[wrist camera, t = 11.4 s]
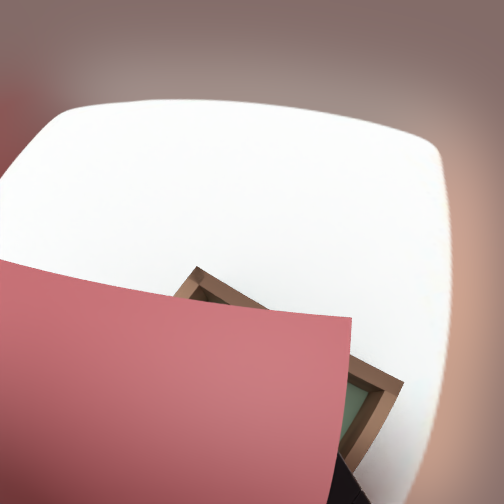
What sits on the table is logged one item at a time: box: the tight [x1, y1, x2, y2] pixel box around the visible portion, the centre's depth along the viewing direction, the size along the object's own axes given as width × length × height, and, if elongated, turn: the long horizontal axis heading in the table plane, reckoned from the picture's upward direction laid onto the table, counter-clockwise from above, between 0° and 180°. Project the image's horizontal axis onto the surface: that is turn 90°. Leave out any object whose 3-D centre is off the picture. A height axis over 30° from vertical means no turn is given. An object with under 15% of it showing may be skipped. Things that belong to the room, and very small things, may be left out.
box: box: [173, 266, 404, 474], centre depth 13 cm, size 12×13×3 cm
